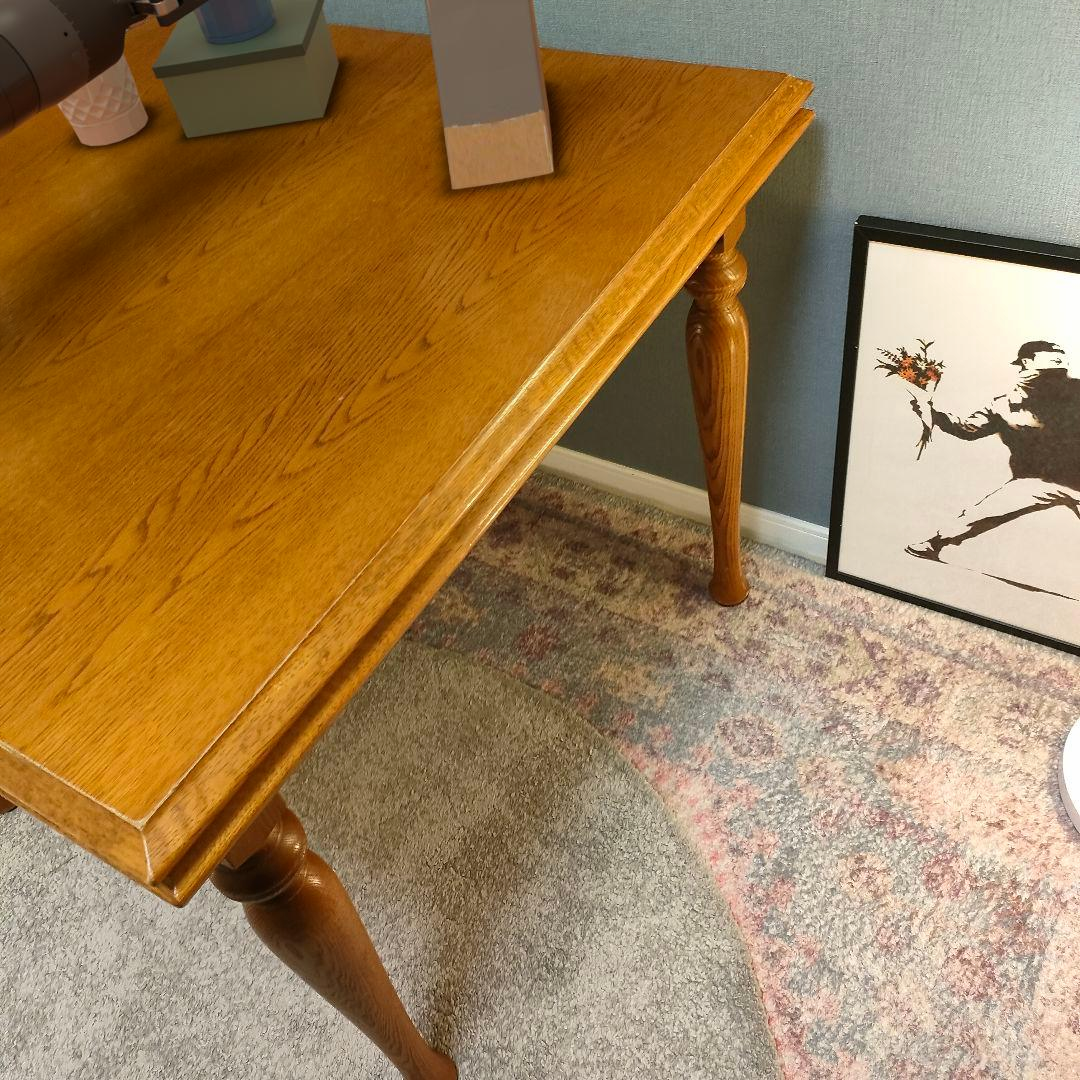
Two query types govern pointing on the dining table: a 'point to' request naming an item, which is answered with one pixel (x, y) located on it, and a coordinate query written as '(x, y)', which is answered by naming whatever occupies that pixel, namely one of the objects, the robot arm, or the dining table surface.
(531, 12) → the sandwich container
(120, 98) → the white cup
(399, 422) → the dining table surface
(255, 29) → the blue cup
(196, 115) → the storage box
